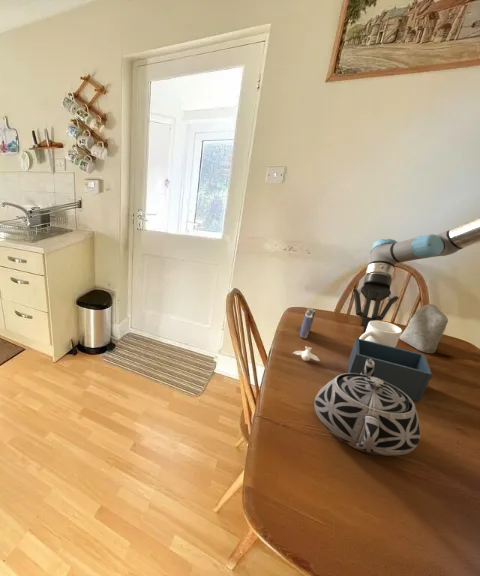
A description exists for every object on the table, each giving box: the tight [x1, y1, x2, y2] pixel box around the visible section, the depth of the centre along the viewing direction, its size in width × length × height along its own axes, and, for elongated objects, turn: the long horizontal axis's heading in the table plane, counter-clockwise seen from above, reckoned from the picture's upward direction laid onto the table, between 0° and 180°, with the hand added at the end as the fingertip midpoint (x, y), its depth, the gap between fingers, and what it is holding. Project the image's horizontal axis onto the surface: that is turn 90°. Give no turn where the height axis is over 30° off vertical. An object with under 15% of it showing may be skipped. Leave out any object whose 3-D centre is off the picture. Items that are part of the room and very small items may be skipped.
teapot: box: [313, 359, 421, 457], centre depth 73 cm, size 19×31×15 cm, turn 142°
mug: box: [358, 320, 403, 348], centre depth 104 cm, size 12×8×10 cm
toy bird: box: [292, 345, 321, 362], centre depth 103 cm, size 8×5×5 cm, turn 51°
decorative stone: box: [399, 303, 449, 354], centre depth 107 cm, size 11×6×15 cm, turn 171°
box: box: [347, 337, 433, 403], centre depth 91 cm, size 16×12×9 cm
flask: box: [299, 307, 316, 340], centre depth 117 cm, size 9×3×11 cm, turn 140°
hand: (365, 335), depth 109 cm, fingers closed
